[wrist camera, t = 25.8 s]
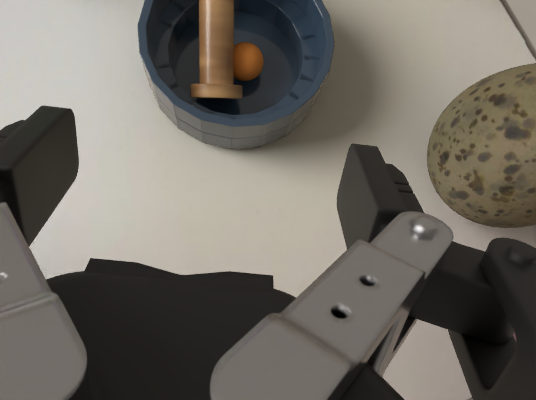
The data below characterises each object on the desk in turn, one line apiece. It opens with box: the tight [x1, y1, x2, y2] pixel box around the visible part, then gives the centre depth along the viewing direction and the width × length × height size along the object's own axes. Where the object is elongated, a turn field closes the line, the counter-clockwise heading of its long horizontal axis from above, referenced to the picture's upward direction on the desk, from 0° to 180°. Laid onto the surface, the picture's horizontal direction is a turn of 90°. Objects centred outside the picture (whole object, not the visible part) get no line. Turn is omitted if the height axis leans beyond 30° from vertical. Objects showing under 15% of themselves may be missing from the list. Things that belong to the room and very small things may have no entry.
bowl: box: [138, 0, 334, 149], centre depth 36 cm, size 14×14×6 cm
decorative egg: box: [427, 63, 536, 228], centre depth 32 cm, size 11×11×15 cm
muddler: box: [190, 0, 243, 99], centre depth 34 cm, size 4×4×13 cm
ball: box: [234, 42, 264, 81], centre depth 37 cm, size 3×3×3 cm
